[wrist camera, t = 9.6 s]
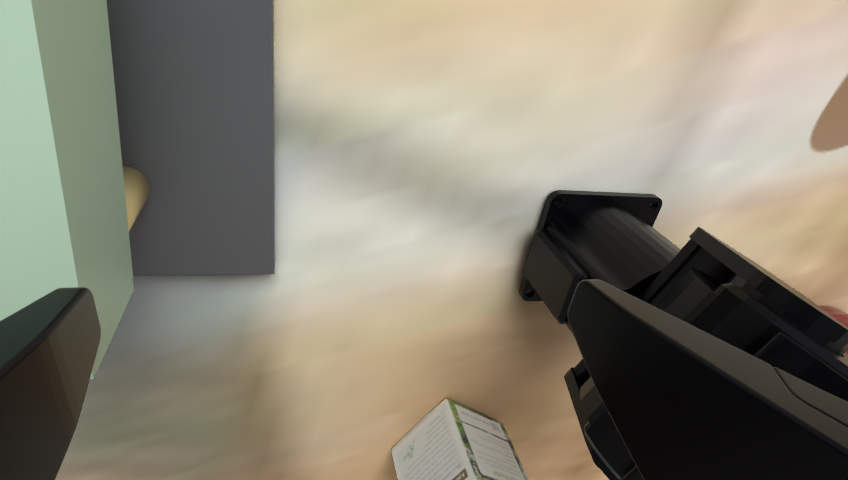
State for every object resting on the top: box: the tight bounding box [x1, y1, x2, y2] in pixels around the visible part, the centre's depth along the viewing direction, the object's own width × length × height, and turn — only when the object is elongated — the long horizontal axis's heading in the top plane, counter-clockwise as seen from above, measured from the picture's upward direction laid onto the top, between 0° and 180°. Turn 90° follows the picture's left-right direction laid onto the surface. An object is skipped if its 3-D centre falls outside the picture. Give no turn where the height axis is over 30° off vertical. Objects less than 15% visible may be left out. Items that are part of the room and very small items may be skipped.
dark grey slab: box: [107, 0, 275, 275], centre depth 14 cm, size 14×18×4 cm
